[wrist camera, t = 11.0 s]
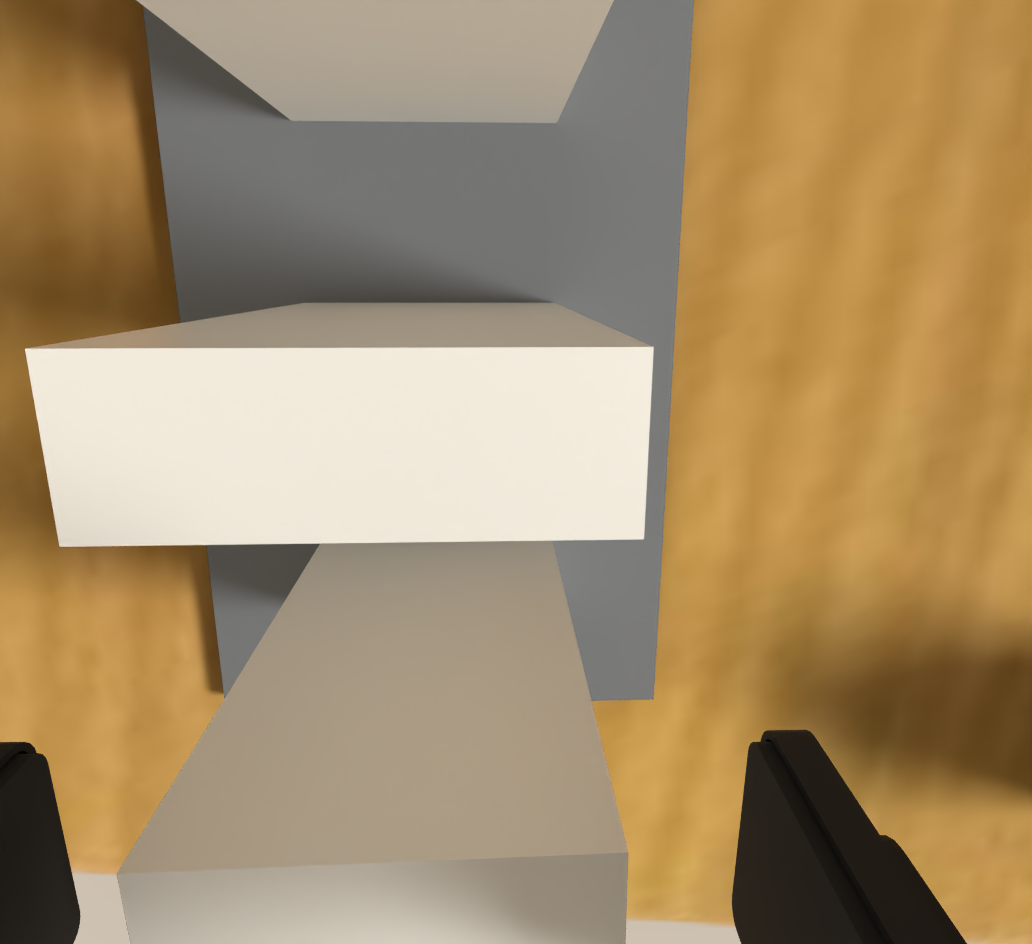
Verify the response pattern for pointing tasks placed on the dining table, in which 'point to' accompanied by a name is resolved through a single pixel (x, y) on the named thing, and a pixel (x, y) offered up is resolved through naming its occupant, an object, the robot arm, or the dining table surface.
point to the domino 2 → (348, 427)
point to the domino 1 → (397, 55)
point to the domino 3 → (396, 768)
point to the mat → (446, 262)
